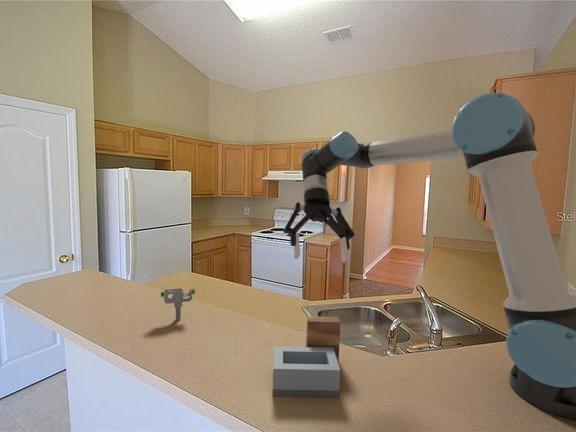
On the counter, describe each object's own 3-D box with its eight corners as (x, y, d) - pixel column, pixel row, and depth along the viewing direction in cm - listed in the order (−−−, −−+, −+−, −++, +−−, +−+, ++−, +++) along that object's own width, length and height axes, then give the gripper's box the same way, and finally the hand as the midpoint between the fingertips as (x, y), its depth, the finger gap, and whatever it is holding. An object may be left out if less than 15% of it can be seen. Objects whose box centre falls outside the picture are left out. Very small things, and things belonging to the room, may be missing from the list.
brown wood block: (305, 357, 79) (307, 316, 78) (336, 357, 79) (338, 317, 78) (306, 363, 76) (308, 321, 75) (338, 364, 76) (340, 322, 75)
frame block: (273, 370, 72) (274, 346, 72) (332, 371, 73) (333, 347, 72) (272, 396, 63) (273, 368, 63) (339, 397, 64) (340, 370, 63)
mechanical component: (194, 319, 99) (194, 289, 98) (160, 323, 95) (160, 292, 95) (194, 315, 102) (194, 287, 101) (161, 319, 98) (161, 289, 97)
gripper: (349, 205, 97) (358, 267, 86) (273, 195, 92) (273, 260, 81) (359, 191, 91) (370, 256, 80) (278, 180, 86) (279, 249, 75)
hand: (321, 258), depth 81 cm, fingers open, 13 cm apart
